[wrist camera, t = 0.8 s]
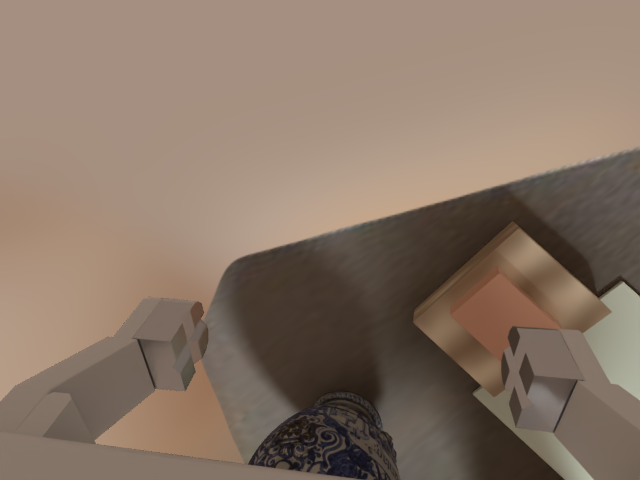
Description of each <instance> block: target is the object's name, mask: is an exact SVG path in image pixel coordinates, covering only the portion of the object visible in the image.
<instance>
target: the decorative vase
mask: <svg viewBox="0 0 640 480" xmlns="http://www.w3.org/2000/svg"><path fill="white" fill-rule="evenodd" d="M248 465H256V466H263V467H271V468H278V469H286V470H293V471H301V472H308V473H316V474H324V475H331V476H339V477H346V478H354V479H361V480H400V476H399V472H398V469H397V466H396V451H395V450H394V449H393V443H392V437H391V436H390V435H389V434H388V433H387V432H384V431H383V430H382V423H381V420H380V417H379V415H378V413H377V411H376V410H375V409H374V407H373V406H372V405H371V404H370V403H369V402H368V401H367V400H365V399H364V398H362V397H361V396H359V395H356V394H354V393H351V392H345V391H336V392H331V393H328V394H325V395H323V396H322V397H320V398H319V399H318V400H317V402H316V403H315V404H314V406H313V407H310V408H307V409H305V410H303V411H301V412H299V413H297V414H295V415H293V416H292V417H290V418H288V419H287V420H286V421H284V422H283V423H282V424H280V425H279V426H278V427H277V428H276V429H275V430H274V431H272V432H271V433H270V434H269V435H268V436H267V438H266V439H265V440H264V441H263V442H262V443H261V445H260V446H259V447H258V449H257V450H256V452H255V453H254V455H253V456H252V458H251V460H250V462H249V464H248Z"/></svg>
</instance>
